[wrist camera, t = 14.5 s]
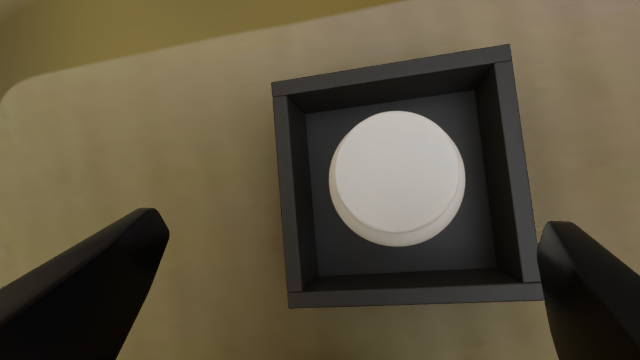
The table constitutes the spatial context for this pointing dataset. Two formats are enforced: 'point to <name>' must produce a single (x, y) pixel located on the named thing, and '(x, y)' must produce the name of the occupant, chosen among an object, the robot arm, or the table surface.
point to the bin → (467, 225)
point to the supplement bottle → (397, 179)
